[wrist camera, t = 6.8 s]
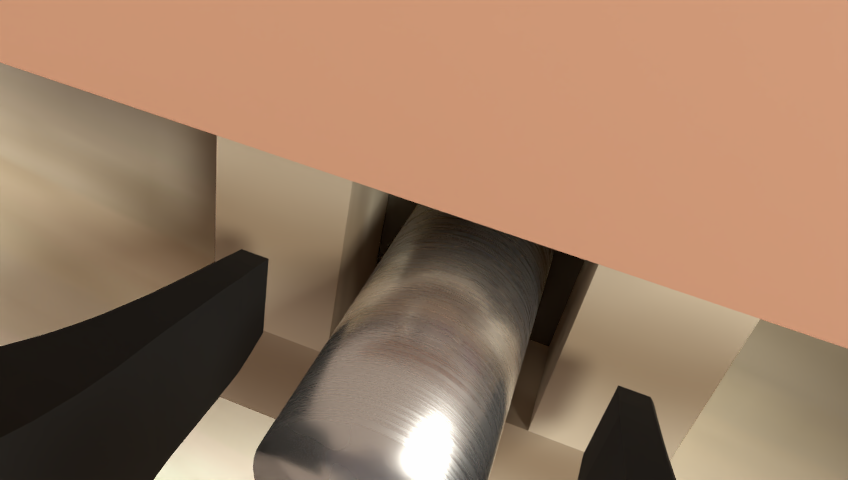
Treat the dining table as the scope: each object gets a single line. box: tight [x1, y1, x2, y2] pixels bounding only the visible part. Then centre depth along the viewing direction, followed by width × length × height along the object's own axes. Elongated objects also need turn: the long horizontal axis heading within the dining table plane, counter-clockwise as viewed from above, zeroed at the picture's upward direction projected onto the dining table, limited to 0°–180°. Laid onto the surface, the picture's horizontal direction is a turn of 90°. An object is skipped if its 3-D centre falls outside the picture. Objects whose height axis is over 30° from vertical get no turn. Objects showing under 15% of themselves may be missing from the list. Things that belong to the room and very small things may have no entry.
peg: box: [253, 204, 554, 480], centre depth 14 cm, size 4×4×8 cm
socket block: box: [215, 136, 760, 480], centre depth 16 cm, size 11×11×3 cm
